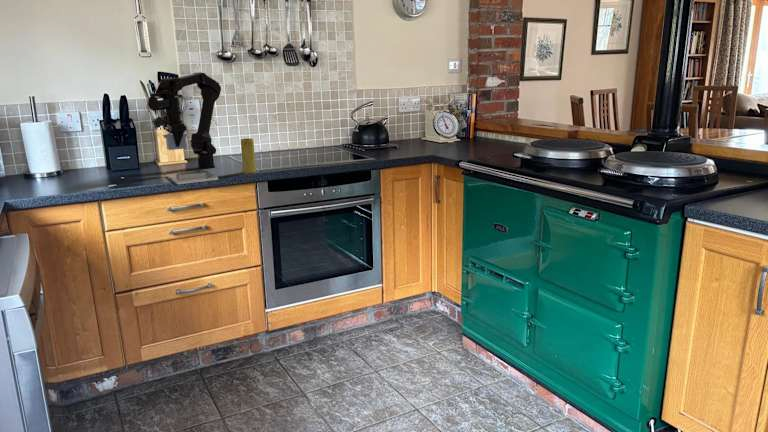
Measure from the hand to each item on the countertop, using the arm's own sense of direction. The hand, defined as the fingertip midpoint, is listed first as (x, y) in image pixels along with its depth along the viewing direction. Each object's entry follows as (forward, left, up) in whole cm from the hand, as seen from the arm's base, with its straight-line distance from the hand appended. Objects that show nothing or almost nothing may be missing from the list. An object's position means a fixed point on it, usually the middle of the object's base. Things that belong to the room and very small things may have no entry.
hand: (176, 146), depth 242 cm
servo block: (0, 0, -1) cm, 1 cm away
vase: (-26, +14, -12) cm, 32 cm away
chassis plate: (-2, +12, -12) cm, 17 cm away
